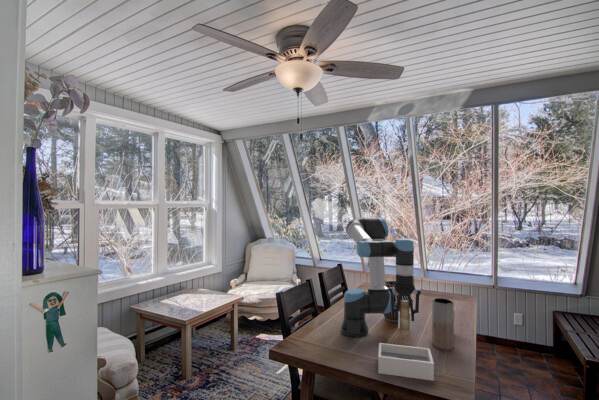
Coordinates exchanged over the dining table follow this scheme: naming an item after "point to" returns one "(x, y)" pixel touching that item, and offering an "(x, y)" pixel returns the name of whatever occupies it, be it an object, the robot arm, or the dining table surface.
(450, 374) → the dining table surface
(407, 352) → the box
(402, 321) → the dowel
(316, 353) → the dining table surface
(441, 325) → the planter
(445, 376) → the dining table surface
